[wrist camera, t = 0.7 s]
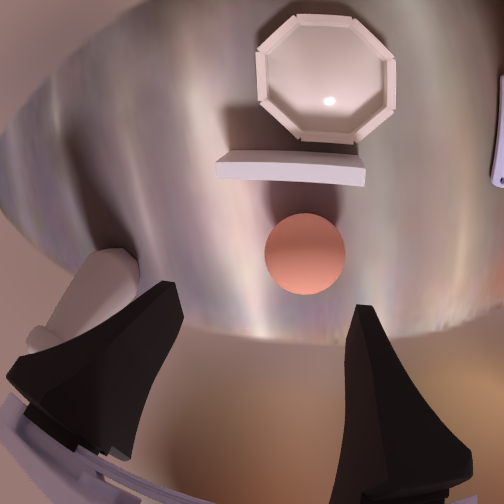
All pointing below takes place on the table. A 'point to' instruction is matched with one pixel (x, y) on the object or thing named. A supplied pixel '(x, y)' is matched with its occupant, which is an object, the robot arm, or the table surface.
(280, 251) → the ball
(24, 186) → the table surface
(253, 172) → the wall
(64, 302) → the salt shaker
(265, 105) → the coaster
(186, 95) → the table surface
